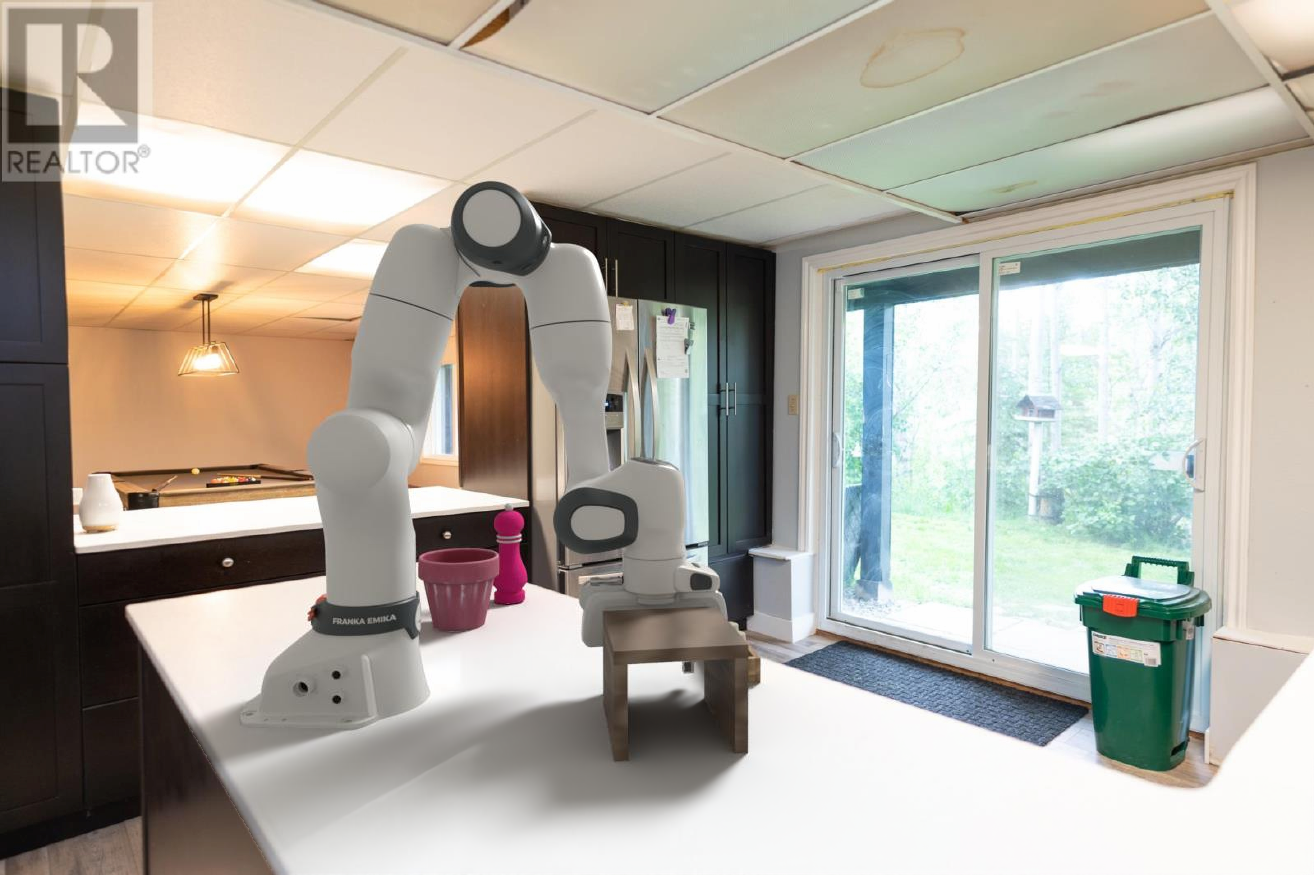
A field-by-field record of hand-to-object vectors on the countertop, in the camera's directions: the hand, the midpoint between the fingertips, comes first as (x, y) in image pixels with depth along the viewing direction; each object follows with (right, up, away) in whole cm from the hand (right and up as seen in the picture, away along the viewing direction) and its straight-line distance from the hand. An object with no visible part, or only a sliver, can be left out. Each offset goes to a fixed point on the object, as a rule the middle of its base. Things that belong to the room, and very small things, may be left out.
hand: (654, 674), depth 98 cm
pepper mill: (-30, -1, +48) cm, 56 cm away
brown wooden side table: (+2, -3, -12) cm, 13 cm away
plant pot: (-36, -1, +31) cm, 47 cm away
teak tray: (+11, -2, +11) cm, 16 cm away
